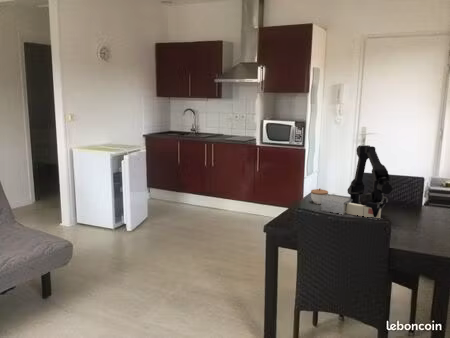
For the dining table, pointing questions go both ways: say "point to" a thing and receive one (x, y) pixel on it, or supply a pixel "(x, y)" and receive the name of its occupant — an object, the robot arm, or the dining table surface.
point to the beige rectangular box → (361, 210)
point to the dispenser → (334, 204)
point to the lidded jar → (318, 195)
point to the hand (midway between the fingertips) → (376, 216)
